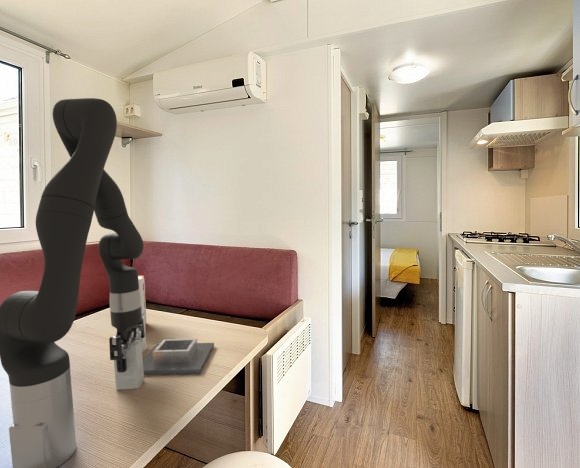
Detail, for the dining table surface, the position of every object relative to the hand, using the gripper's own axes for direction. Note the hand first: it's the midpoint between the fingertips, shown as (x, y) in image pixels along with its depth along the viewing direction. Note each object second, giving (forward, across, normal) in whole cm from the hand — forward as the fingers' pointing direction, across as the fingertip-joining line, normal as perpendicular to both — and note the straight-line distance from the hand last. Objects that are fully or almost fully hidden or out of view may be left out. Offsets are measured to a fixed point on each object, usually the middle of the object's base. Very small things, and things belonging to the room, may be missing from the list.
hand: (130, 363), depth 87 cm
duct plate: (+6, +14, -8) cm, 17 cm away
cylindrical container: (+7, +22, +9) cm, 24 cm away
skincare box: (+6, 0, 0) cm, 6 cm away
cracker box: (+7, +40, +16) cm, 43 cm away
